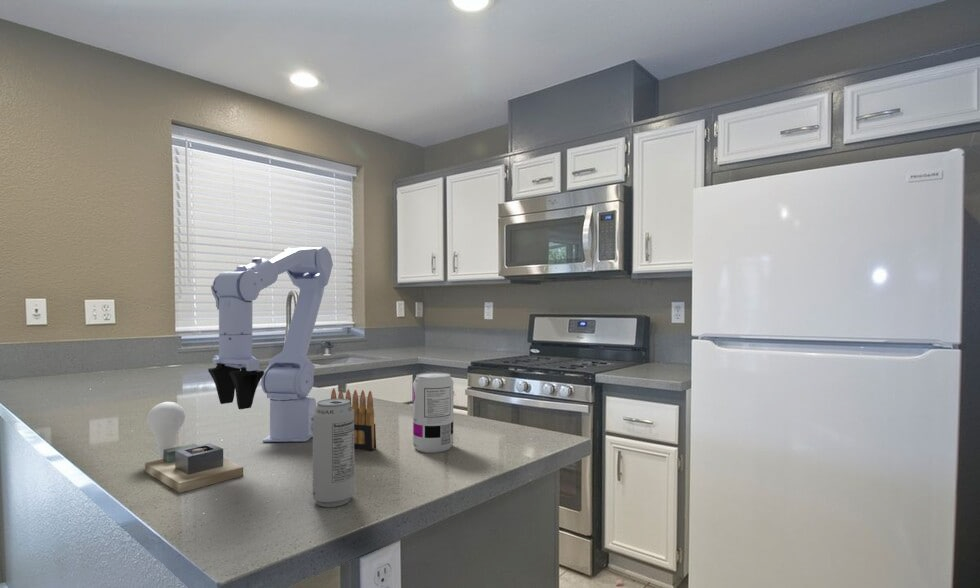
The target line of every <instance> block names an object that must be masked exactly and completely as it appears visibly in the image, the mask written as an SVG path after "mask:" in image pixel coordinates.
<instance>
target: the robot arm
mask: <svg viewBox="0 0 980 588" xmlns="http://www.w3.org/2000/svg"><path fill="white" fill-rule="evenodd" d="M331 254H332V253H331V252H330V250H329V249H328V248H327V247H326V246H320V247H287V248H285V249H284V248H283V249H282V252H281V253H280V254H277V255H276V256H274V257H272V258H271V259H266V258H262V257H253V258H252V259H251V262H250V263H248V264H246V265H237V266H236V269H235V270H233V271H222V272H219V274H218V275H217V276H215V278H214V279H213V283H212V285H211V286H210V290H211V293H212V295H213V298H214V299H215V307H216V309H217V310H218V354H216V355H215V354H214V355H213V358H212V359H211V363H213V365H214V366H215V367H210V368H207V370H208V371H207V372H208V373H209V375H210V376H211V378H212V380H213V382H214V385H215V388H216V392H217V397H218V399H219V402H220V403H219V404H220V405H224V404H225V405H226V404H232V403H233V401H234V399H235V398H236V405H237V409H238V410H244V409H245V410H246V409H251V408H252V406H253V403H254V398H255V394H256V391H257V389H258V386H259V383H260V385H261V389H262V392H263V393H264V394H265V395H266V399H269V434H268V435H267V436H266V437H264V438H263V439H262V442H264V443H267V442H268V443H271V442H272V443H275V442H277V443H278V442H279V443H280V442H281V443H284V442H285V443H286V442H287V443H288V442H308V441H309V440H310V439H311V438H313V413H314V411H315V409H316V407H317V400H316V398H315V397H309V394H310V392H311V391H312V389H313V386H314V382H315V379H314V373H315V370H316V369H315V364H314V363H313V361H311V360H310V359H309V358H308V357H307V355H308V352H309V348H310V343H311V341H312V340H311V339H312V336H313V332H314V329H315V324H316V321H317V319H318V316H319V315H318V314H319V310H320V307H321V304H322V303H321V302H322V299H323V295H324V292H325V287H326V286H328V285H329V282H330V281H329V280H330V277H331V274H332V273H331V272H332V270H333V265H334V264H333V259H332V255H331ZM285 272H286V273H287V275H288V278H289V279H290V281H291V283H292V285H293V286H295V287H296V288H298V289H299V293H298V297H297V299H296V300H297V301H296V304H295V307H294V310H293V313H292V317H291V320H290V323H289V327H288V330H287V334H286V336H285V337H286V338H285V341H284V343H283V347H282V351H280V352H279V353H277V355H275V356H273V357H272V358H270V360H269V362H268V365H267V367H266V369H265V370H263V369H260V359H257V358H256V357H255V356H253V301H255V300H257V299H258V297H259V295H260V292H261V291H262V290H264V289H265V288H268V287H270V286H271V285H273V284H274V283H276V282H277V280H278V277H279V275H281V274H283V273H285Z"/></svg>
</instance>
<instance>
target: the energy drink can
mask: <svg viewBox="0 0 980 588" xmlns="http://www.w3.org/2000/svg"><path fill="white" fill-rule="evenodd" d="M316 405H317V407H316V409H315V411H314V413H313V436H312V498H313V500H315V501H316V503H315V504H316V505H317V504H318V506H319V507H322V508H324V507H325V508H333V507H339V506H343V505H345V504H347V503H349V502H350V501H351V497H353V495H354V493H355V449H354V410H353V408H352V404H351V405H350V400H348V399H345V398H344V399H338V398H337V399H331V398H327V399H322V400H318V401H316Z"/></svg>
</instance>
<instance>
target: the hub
mask: <svg viewBox="0 0 980 588" xmlns="http://www.w3.org/2000/svg"><path fill="white" fill-rule="evenodd" d="M199 448H207V451H204V452H200V453H195V454H192V450H194V449H199ZM223 458H224V448H221V447H220V446H217V445H216V444H213V443H210V442H209V443H204V444H200V445H198V446H194V447H189V448H184V449H180V450H175V468H177V469H178V470H180V471H182V472H184V473H186V474H188V475H189V474H193V473H197V472H202V471H206V470H210V469H214V468H218V467H222V466H223Z"/></svg>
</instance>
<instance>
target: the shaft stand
mask: <svg viewBox="0 0 980 588" xmlns="http://www.w3.org/2000/svg"><path fill="white" fill-rule="evenodd" d="M194 446H199V445H198V444H195V443H189V444H185V445H180V446H174V448H169V449H165V450H163V459H162V458H160V459H156V460H152V461H147V462H144V472H145V473H147V474H149V475H150V476H152V477H153V478H154V479H156V480H158V481H160V482H161V483H163V484H165V485H166V486H168V487H169V488H171V489H173V490H174V491H176V492H177V493H180V494H181V493H183V492H187V491H191V490H195V489H199V488H202V487H206V486H210V485H214V484H217V483H222V482H224V481H229V480H233V479H237V478H240V477H243V476H244V466H242V465H239V464H238V463H235V462H233V461H231V460H228V459H226V458H224V457H223V466H222V467H218V468H214V469H210V470H206V471H202V472H197V473H193V474H189V475H188V474H186V473H184V472H182V471H180V470H178V469H177V468H175V450H180V449H184V448H189V447H194ZM204 451H207V448H199V449H194V450H192V454H195V453H200V452H204Z"/></svg>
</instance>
